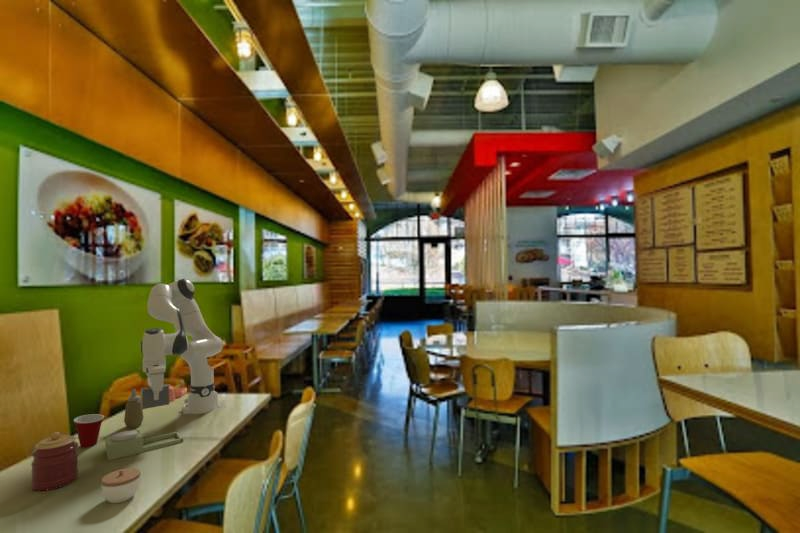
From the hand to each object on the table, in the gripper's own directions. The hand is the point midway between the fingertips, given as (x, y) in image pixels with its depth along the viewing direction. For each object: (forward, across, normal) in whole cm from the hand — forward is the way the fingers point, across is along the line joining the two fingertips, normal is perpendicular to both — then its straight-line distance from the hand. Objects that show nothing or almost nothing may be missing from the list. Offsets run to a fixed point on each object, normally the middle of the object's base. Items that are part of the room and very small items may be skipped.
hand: (155, 398), depth 186 cm
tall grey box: (+3, 0, 0) cm, 3 cm away
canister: (+20, +19, -33) cm, 43 cm away
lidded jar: (+20, +47, -15) cm, 53 cm away
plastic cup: (+19, -16, -23) cm, 34 cm away
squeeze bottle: (+19, -30, -6) cm, 36 cm away
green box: (+19, +3, -6) cm, 20 cm away
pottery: (+19, -72, +17) cm, 77 cm away
